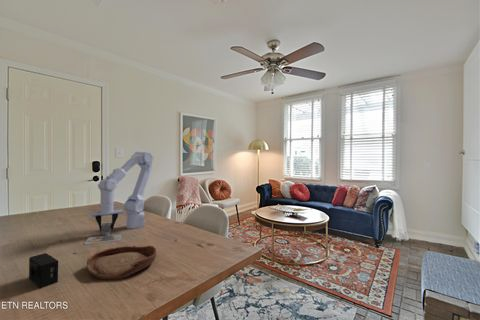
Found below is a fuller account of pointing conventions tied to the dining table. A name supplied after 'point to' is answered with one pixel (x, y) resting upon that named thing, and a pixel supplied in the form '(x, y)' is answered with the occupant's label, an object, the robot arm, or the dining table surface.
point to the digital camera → (43, 270)
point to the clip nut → (106, 228)
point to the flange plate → (104, 239)
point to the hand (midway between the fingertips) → (106, 229)
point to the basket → (120, 261)
